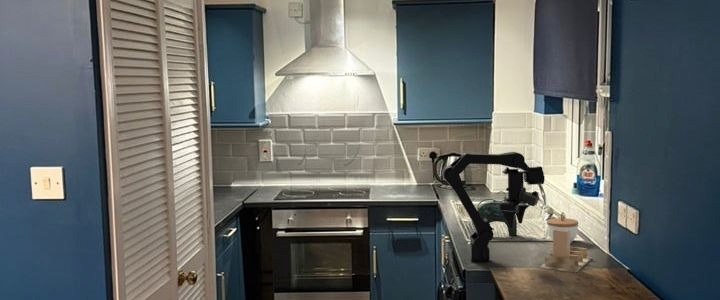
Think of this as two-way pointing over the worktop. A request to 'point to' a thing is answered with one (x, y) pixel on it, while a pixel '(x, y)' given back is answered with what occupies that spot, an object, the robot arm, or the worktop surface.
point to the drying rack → (568, 260)
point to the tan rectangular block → (561, 243)
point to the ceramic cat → (496, 214)
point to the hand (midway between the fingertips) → (516, 225)
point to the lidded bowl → (563, 226)
